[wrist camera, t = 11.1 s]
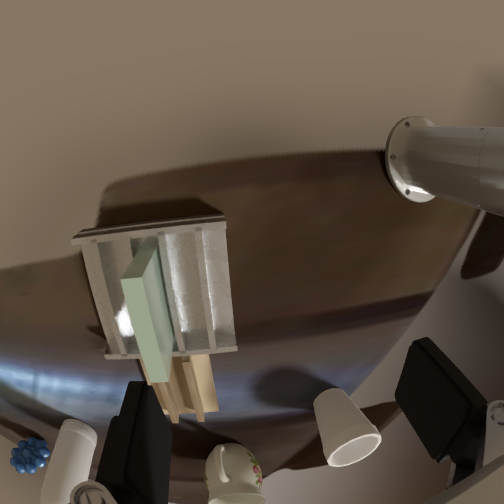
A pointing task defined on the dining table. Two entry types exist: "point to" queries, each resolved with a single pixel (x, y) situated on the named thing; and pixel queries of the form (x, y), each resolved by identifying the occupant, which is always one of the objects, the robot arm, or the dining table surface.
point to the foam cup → (343, 428)
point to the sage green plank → (150, 311)
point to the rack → (176, 280)
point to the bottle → (68, 461)
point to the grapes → (29, 455)
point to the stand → (187, 387)
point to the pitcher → (233, 476)
